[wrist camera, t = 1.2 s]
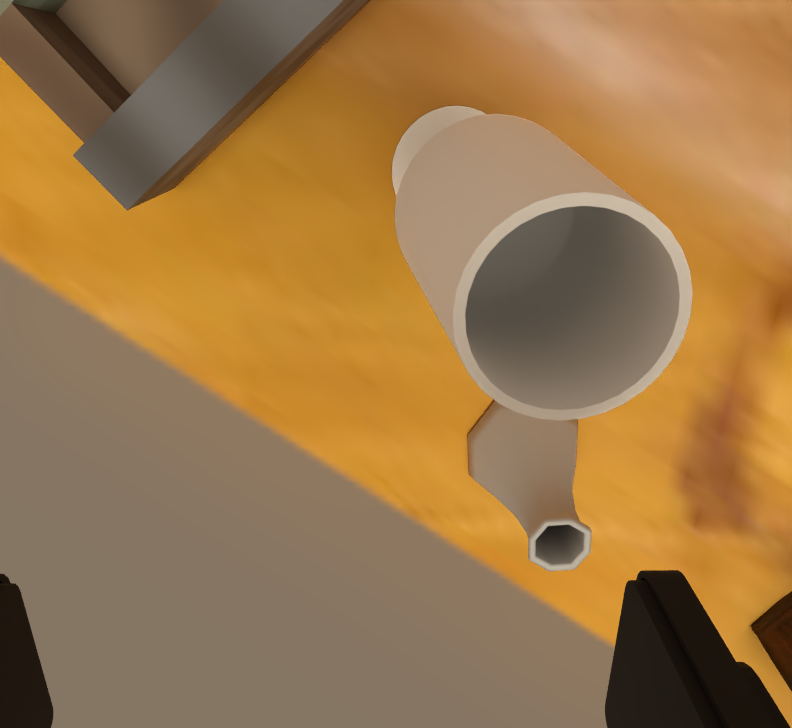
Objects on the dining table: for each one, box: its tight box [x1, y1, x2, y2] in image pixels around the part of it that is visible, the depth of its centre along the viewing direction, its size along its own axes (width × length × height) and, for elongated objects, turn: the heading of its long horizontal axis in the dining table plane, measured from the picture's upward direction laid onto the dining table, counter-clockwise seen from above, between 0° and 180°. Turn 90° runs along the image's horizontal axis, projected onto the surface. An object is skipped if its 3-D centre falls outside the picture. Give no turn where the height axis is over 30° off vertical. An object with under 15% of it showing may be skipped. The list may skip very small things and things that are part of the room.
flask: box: [468, 401, 591, 571], centre depth 37 cm, size 7×7×10 cm
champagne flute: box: [392, 106, 693, 421], centre depth 24 cm, size 7×7×24 cm
